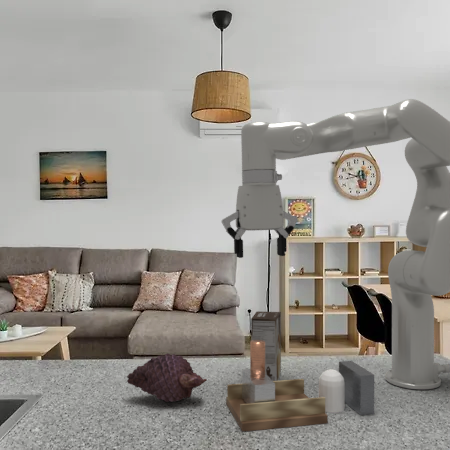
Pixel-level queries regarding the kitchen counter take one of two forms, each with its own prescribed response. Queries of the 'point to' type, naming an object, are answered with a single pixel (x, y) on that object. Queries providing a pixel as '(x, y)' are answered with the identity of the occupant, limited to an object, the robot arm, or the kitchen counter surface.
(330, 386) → the capsule
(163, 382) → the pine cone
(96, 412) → the kitchen counter surface
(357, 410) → the gray rectangular block
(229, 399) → the base
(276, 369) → the coffee box
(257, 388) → the ram
